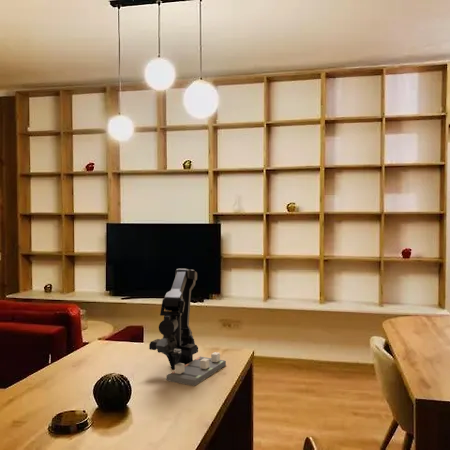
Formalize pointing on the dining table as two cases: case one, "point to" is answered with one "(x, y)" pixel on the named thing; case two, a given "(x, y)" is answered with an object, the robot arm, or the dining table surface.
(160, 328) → the robot arm
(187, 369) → the breaker panel
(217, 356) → the far switch
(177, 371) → the switch
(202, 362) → the middle switch
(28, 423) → the dining table surface
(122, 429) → the dining table surface
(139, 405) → the dining table surface
